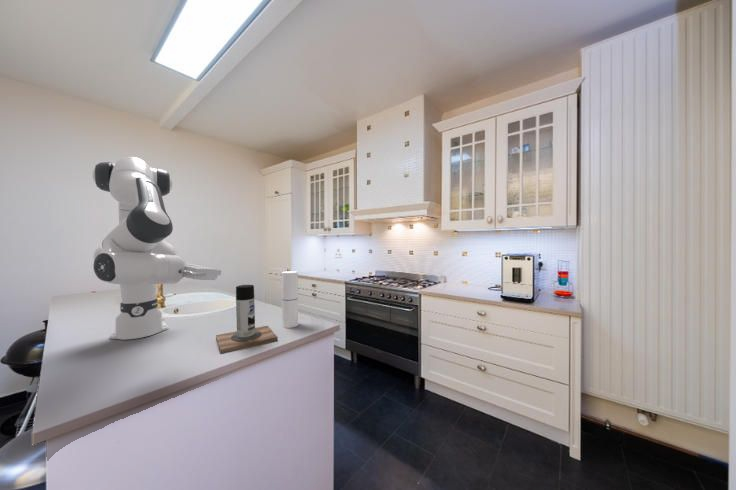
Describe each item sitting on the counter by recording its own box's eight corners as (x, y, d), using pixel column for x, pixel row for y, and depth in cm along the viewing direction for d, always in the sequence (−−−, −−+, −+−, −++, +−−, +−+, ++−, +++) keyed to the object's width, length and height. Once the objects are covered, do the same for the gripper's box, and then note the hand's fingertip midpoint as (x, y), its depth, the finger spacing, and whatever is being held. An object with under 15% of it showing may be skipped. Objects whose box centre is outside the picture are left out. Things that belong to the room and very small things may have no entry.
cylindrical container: (279, 327, 118) (278, 272, 117) (286, 322, 125) (286, 270, 124) (294, 328, 117) (293, 273, 116) (300, 323, 124) (300, 271, 123)
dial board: (216, 338, 105) (216, 334, 105) (267, 328, 116) (267, 324, 116) (220, 353, 92) (220, 348, 92) (277, 340, 103) (277, 336, 103)
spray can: (250, 338, 100) (249, 287, 100) (233, 338, 101) (232, 287, 100) (257, 332, 107) (257, 284, 107) (241, 332, 107) (241, 284, 107)
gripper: (195, 263, 75) (233, 265, 88) (149, 254, 82) (190, 258, 95) (191, 285, 75) (230, 284, 88) (144, 274, 81) (187, 275, 94)
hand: (209, 270), depth 91 cm, fingers open, 8 cm apart
